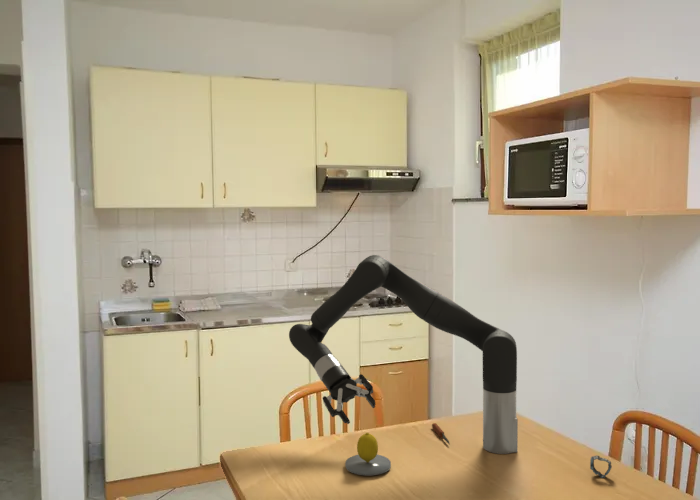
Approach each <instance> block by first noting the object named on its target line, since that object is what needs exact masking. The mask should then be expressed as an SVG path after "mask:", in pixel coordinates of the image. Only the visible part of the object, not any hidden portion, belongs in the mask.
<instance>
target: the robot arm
mask: <svg viewBox="0 0 700 500" xmlns="http://www.w3.org/2000/svg"><path fill="white" fill-rule="evenodd" d="M379 288H383V289H385V290H387V291H389V292H391V294H394V295H395V296H397V297H399V299H400V300H401V301H403V303H404V304H405V305H406V306H407V308H408V309H410V311H411V312H412V313H413V314H414V315H416V317H418V318H419V319H420V320H422V321H424V322H425V323H427V324H429V325H430V326H432V327H434V328H435V329H438V330H439V331H440V330H441V331H442V332H444V333H447V334H450V335H453V336H456V337H459V338H461V339H464V340H465V341H467V342H469V343H470V344H471V345H473V346H475V347H476V348H478V349H479V350H481V352H482V448H483V449H484V450H485V451H486V452H490V453H493V454H500V455H501V454H502V455H507V454H511V453H518V448H519V447H518V433H519V432H518V426H519V425H518V421H519V419H518V418H517V382H518V379H517V377H518V376H517V375H518V373H517V372H518V351H517V343H516V340H515V338H514V336H512V335H511V334H510V333H509V332H507V331H505V330H503V329H501V328H499V327H496V326H494V325H492V324H490V323H488V322H485V321H484V320H482V319H480V318H478V317H477V316H475V315H474V314H472V313H471V312H470V311H469V310H468V309H465V308H464V307H462V306H461V305H459V304H458V303H456V302H455V301H453V300H452V299H450V297H447V296H445V295H443V294H442V293H440V292H438V291H437V290H435V289H433V288H431V287H429V286H427V285H426V284H424V283H423V282H421V281H420V280H418V279H416V278H414V277H412V276H410V275H409V274H407V273H406V272H404V271H403V270H402V269H401V268H399V267H398V266H396V265H395V264H394V263H392V262H391V261H390V260H388V259H387V258H385V257H384V256H381V255H379V254H371V255H369V256H367V257H366V258H364V259H363V260H362V261H360V262H359V263H358V265H357V267H356V268H355V270H354V271H353V273H352V274H351V275H350V277H349V278H348V279H347V280H346V282H345V283H344V284H343V285H342V286H341V287H340V288H339V290H337V291H336V292H335V293H333V295H331V296H330V297H329V298H327V300H325V301H324V302H323V303H322V304H321V305H320V306H319V307H318V308H317V309H316V310H315V311H314V312H313V313H312V314H311V316H310V322H311V324H303V323H297V324H294V325H292V326H291V328H290V329H289V330H288V331H289V333H288V337H289V341H290V343H291V345H292V346H293V348H295V350H297V351H298V352H299V353H300V354H301V355H302V356H303V357H304V358H306V359H307V360H308V361H309V364H310V365H311V366H312V368H313V369H314V370H315V372H316V374H317V376H318V378H319V380H320V381H321V382H322V383H323V385H324V386H325V388H326V389H327V390H328V392H329V393H330V395H327V396H325V395H324V396H322V401H323V404H324V407H325V408H326V410H327V411H328V413H329V415H330V416H331V417H332V418H334V417H336V416H339V418H340V419H341V421H342V422H343V423H344V424H346V425H349V424H351V421H350V419H349V417H348V416H347V413H345V411H344V410H343V406H344V403H348V402H349V401H350V400H352V399H355V397H359V398H361V397H362V398H365V399H366V402H367V403H368V404H369V405H370V406H371V408H372V409H374V408H376V400H375V399H374V397H373V396H372V395H371V394H374V386H373V385H372V384H371V383H370V381H369V380H368V379H367V378H366V377H365V376H364V375H363V374H362V373H360V374H359V375H358V377H357V378H355V379H353V378H352V376H351V375H350V374H349V373H348V372H347V370H346V369H345V367H344V366H343V364H342V363H341V362H340V361H339V360H338V358H337V357H335V355H334V354H333V353H332V351H331V350H330V349H329V347H328V346H327V345H326V344H325V343H322V342H323V340H324V339H325V336H326V335H327V334H328V331H329V330H330V329H331V328H332V327H333V326H335V324H337V323H338V322H339V321H340V319H342V318H343V317H344V315H345V314H347V312H348V311H349V310H350V309H351V308H352V307H353V306H354V305H356V303H357V302H358V301H360V300H361V299H362V298H363V297H366V296H367V295H369V294H371V293H372V292H374V291H375V290H377V289H379ZM358 384H359V385H361V386H362V385H363V387H364V388H365V389H363V388H362V387H360V386H358ZM332 400H334V401H336V402H337V403H336V408H335V409H334V407H333V406H332Z"/></svg>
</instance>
